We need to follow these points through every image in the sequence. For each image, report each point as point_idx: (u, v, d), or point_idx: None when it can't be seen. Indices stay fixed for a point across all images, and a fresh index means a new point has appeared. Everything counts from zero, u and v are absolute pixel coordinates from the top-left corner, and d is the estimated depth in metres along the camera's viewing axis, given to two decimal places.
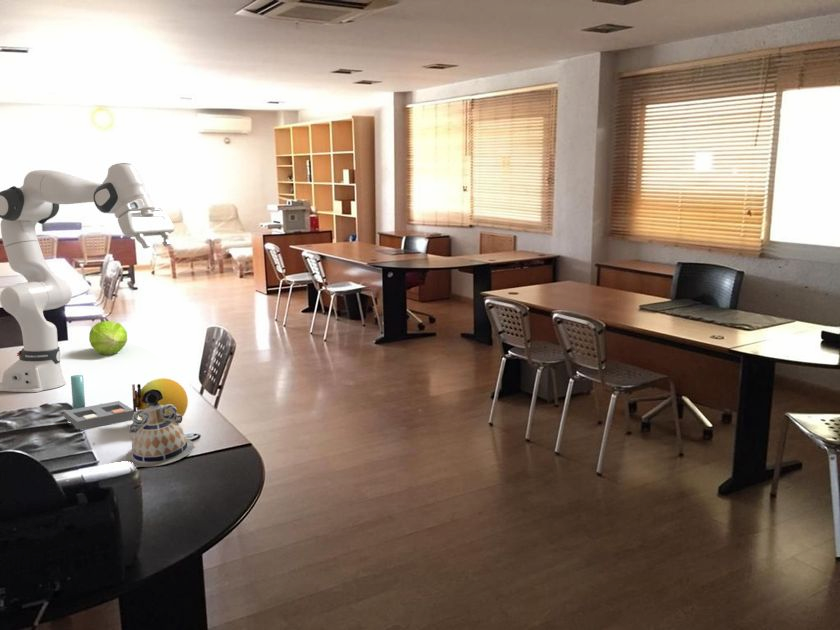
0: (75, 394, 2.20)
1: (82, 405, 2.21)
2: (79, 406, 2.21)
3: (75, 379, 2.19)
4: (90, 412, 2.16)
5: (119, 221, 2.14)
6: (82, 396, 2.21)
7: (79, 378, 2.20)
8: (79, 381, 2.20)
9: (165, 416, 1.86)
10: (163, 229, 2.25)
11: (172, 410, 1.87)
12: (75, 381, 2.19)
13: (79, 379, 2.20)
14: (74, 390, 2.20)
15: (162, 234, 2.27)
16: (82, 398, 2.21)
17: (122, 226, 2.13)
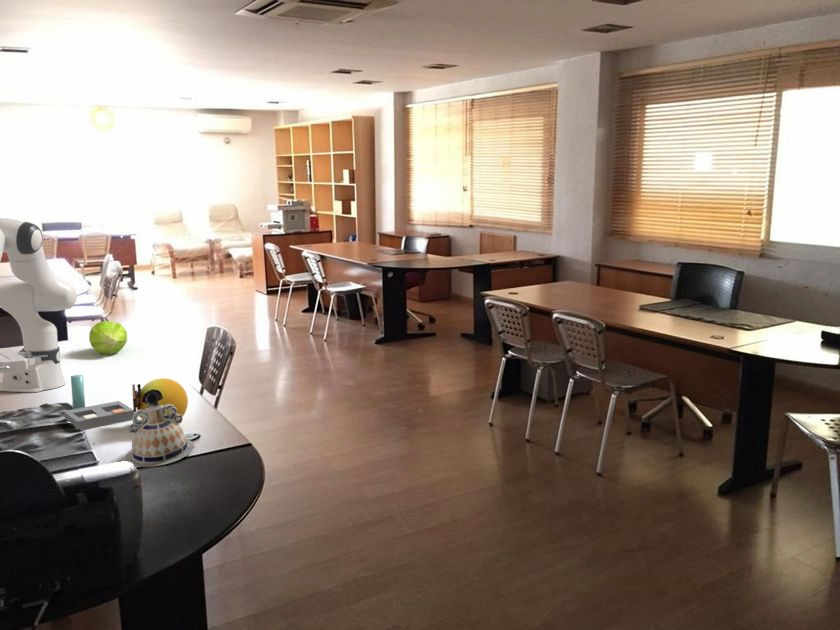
0: (75, 394, 2.20)
1: (82, 405, 2.21)
2: (79, 406, 2.21)
3: (75, 379, 2.19)
4: (90, 412, 2.16)
5: None
6: (82, 396, 2.21)
7: (79, 378, 2.20)
8: (79, 381, 2.20)
9: (165, 416, 1.86)
10: None
11: (172, 410, 1.87)
12: (75, 381, 2.19)
13: (79, 379, 2.20)
14: (74, 390, 2.20)
15: None
16: (82, 398, 2.21)
17: None
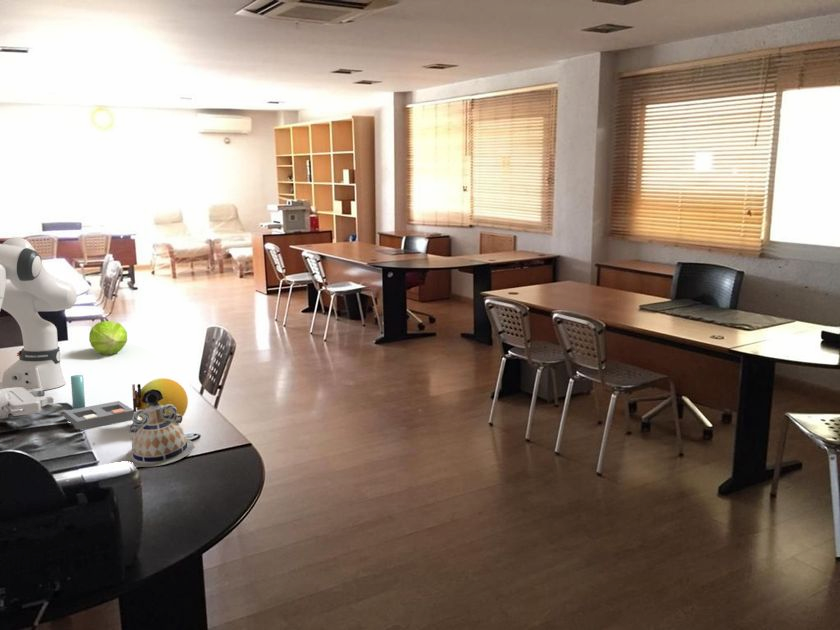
0: (75, 394, 2.20)
1: (82, 405, 2.21)
2: (79, 406, 2.21)
3: (75, 379, 2.19)
4: (90, 412, 2.16)
5: None
6: (82, 396, 2.21)
7: (79, 378, 2.20)
8: (79, 381, 2.20)
9: (165, 416, 1.86)
10: None
11: (172, 410, 1.87)
12: (75, 381, 2.19)
13: (79, 379, 2.20)
14: (74, 390, 2.20)
15: None
16: (82, 398, 2.21)
17: None
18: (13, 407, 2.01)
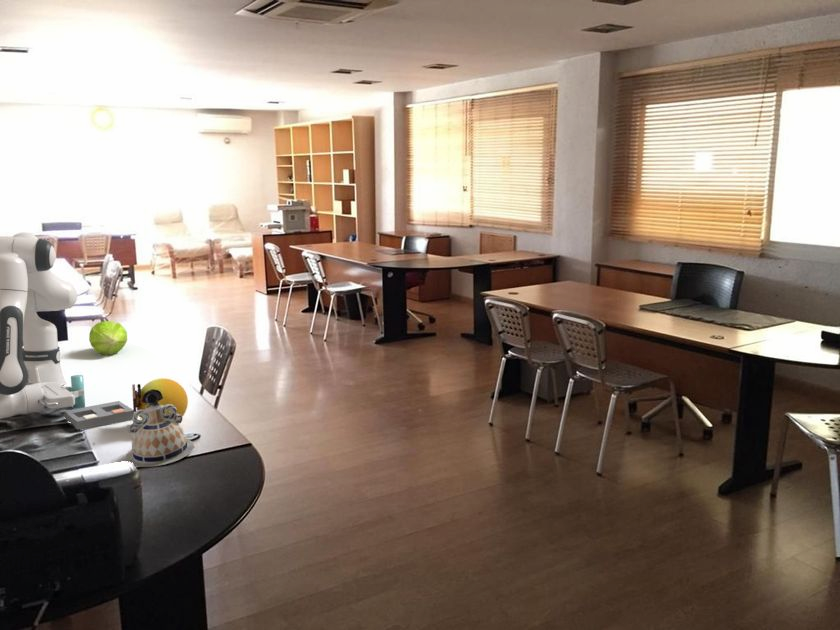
0: None
1: (82, 405, 2.21)
2: (79, 406, 2.21)
3: (75, 379, 2.19)
4: (90, 412, 2.16)
5: None
6: (82, 396, 2.21)
7: (79, 378, 2.20)
8: (79, 381, 2.20)
9: (165, 416, 1.86)
10: None
11: (172, 410, 1.87)
12: (75, 381, 2.19)
13: (79, 379, 2.20)
14: (74, 389, 2.20)
15: None
16: (82, 398, 2.21)
17: None
18: (49, 400, 2.08)
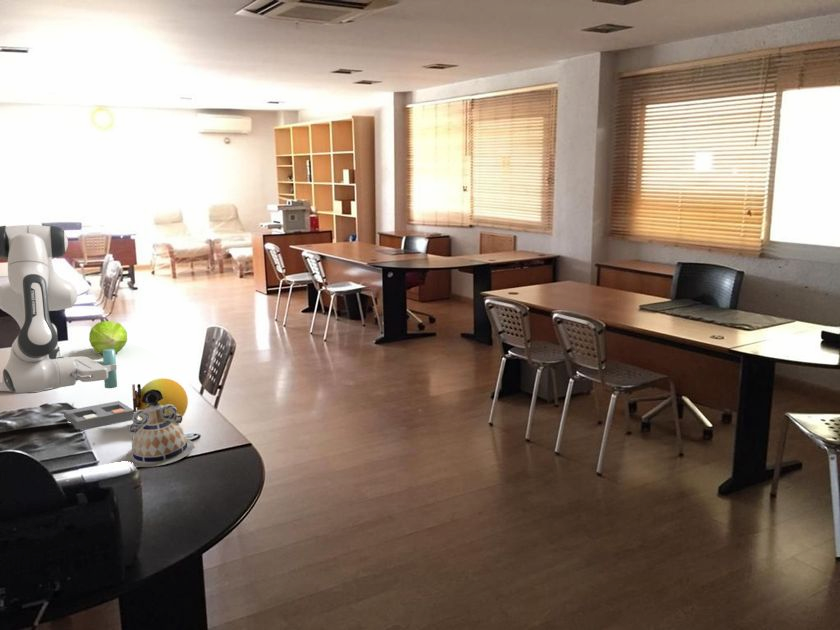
0: None
1: (114, 380, 2.15)
2: (111, 381, 2.14)
3: (107, 353, 2.13)
4: (90, 412, 2.16)
5: None
6: (114, 371, 2.15)
7: (111, 352, 2.13)
8: (112, 355, 2.13)
9: (165, 417, 1.86)
10: None
11: (172, 410, 1.87)
12: (107, 355, 2.13)
13: (111, 353, 2.13)
14: (106, 364, 2.13)
15: None
16: (114, 373, 2.15)
17: None
18: (82, 373, 2.01)
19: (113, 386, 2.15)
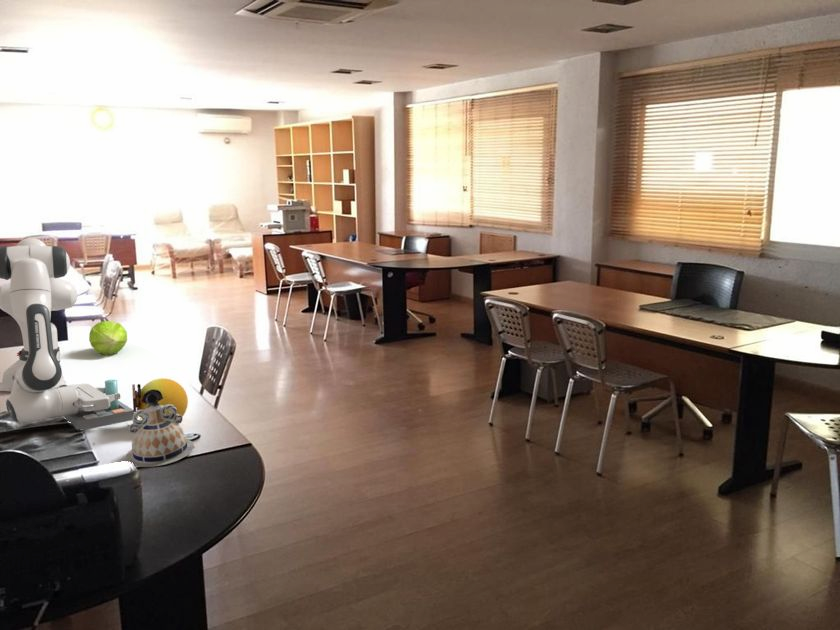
0: None
1: None
2: None
3: (109, 384, 2.14)
4: (90, 412, 2.16)
5: None
6: (116, 401, 2.17)
7: (113, 383, 2.15)
8: (114, 386, 2.15)
9: (165, 417, 1.86)
10: None
11: (172, 410, 1.87)
12: (109, 386, 2.15)
13: (114, 384, 2.15)
14: None
15: None
16: (116, 403, 2.17)
17: None
18: (84, 403, 2.03)
19: None
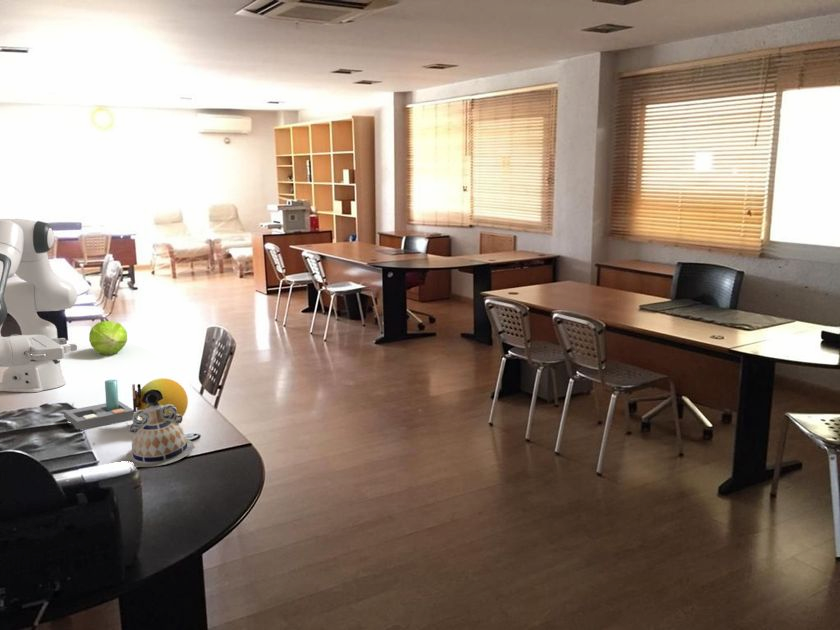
0: (110, 399, 2.15)
1: None
2: None
3: (109, 384, 2.14)
4: (90, 412, 2.16)
5: None
6: (116, 401, 2.17)
7: (113, 383, 2.15)
8: (114, 386, 2.15)
9: (165, 417, 1.86)
10: None
11: (172, 410, 1.87)
12: (109, 386, 2.15)
13: (114, 384, 2.15)
14: (108, 395, 2.15)
15: None
16: (116, 403, 2.17)
17: None
18: (36, 352, 1.92)
19: None
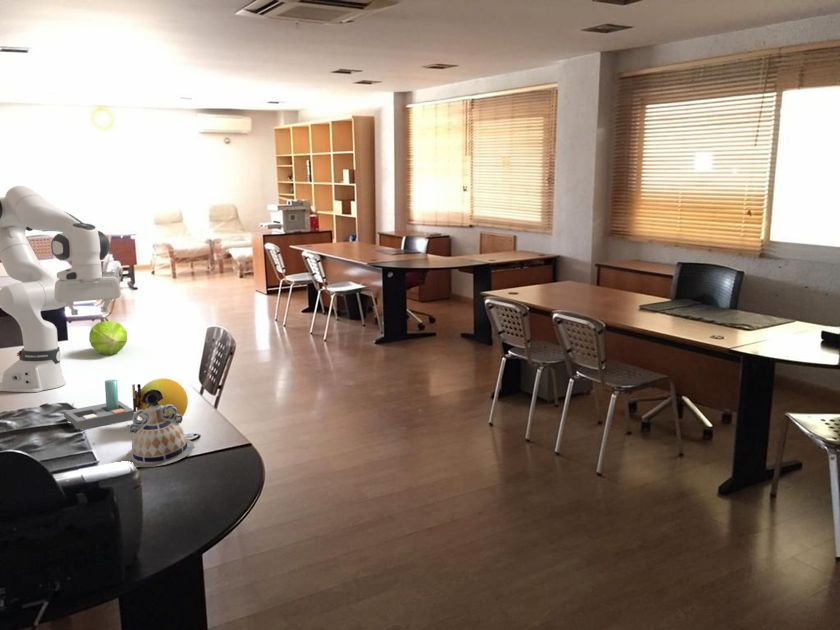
0: (110, 399, 2.15)
1: None
2: None
3: (109, 384, 2.14)
4: (90, 412, 2.16)
5: (55, 285, 2.20)
6: (116, 401, 2.17)
7: (113, 383, 2.15)
8: (114, 386, 2.15)
9: (165, 417, 1.86)
10: (103, 297, 2.28)
11: (172, 410, 1.87)
12: (109, 386, 2.15)
13: (114, 384, 2.15)
14: (108, 395, 2.15)
15: (104, 299, 2.30)
16: (116, 403, 2.17)
17: (55, 291, 2.20)
18: None
19: None
